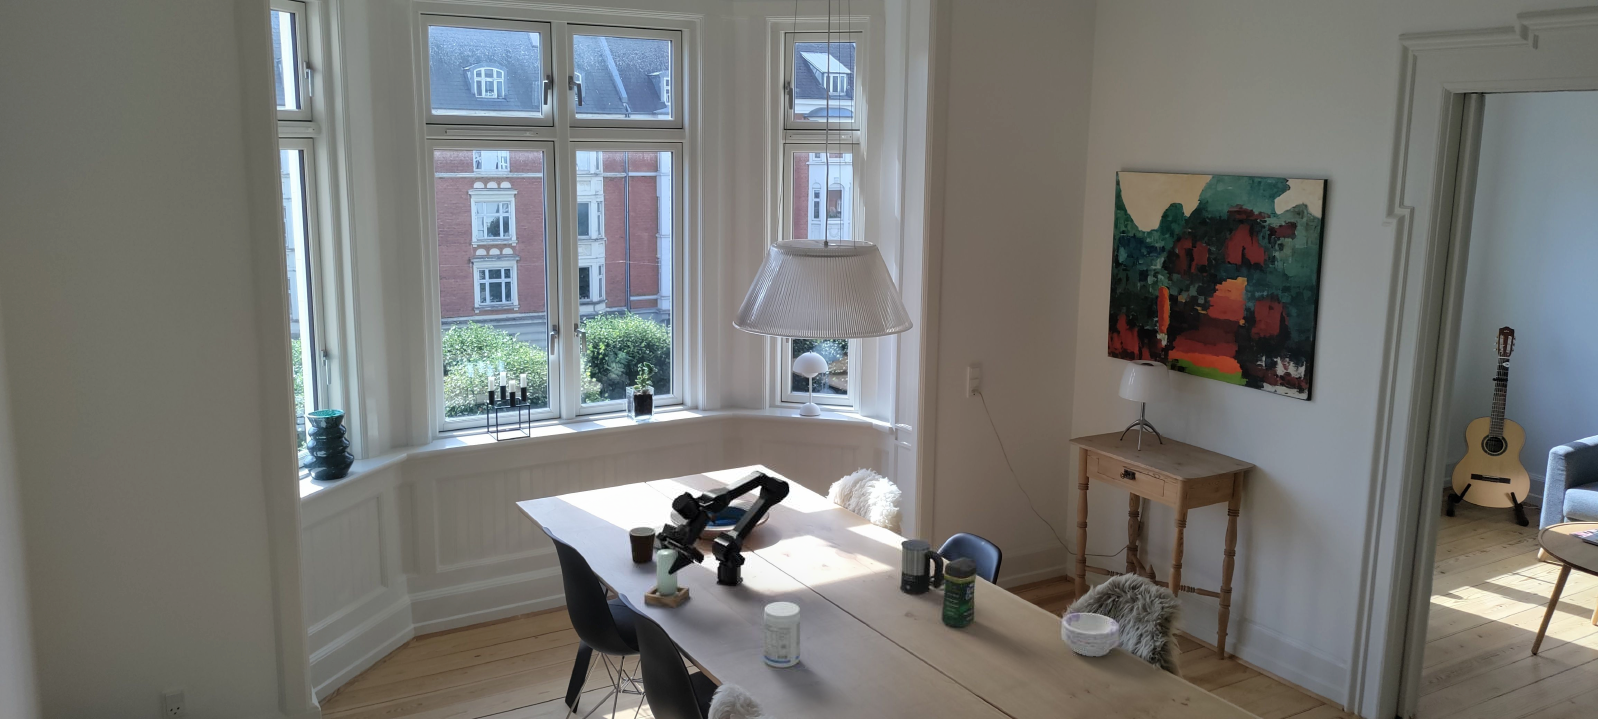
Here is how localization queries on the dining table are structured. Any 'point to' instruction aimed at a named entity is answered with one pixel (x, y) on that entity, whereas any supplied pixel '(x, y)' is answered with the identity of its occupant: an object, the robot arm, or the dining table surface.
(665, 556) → the pale green rounded part
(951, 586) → the coffee jar
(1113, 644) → the paper bowls
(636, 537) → the coffee mug
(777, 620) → the supplement tub
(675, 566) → the robot arm
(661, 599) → the tray
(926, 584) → the milk frother
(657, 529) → the ramekin
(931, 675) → the dining table surface
